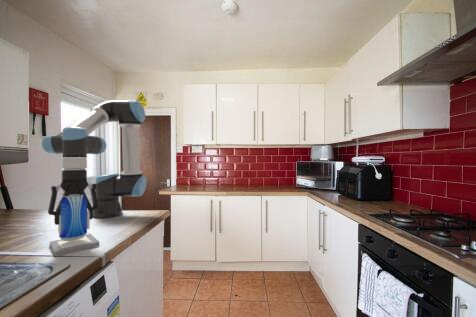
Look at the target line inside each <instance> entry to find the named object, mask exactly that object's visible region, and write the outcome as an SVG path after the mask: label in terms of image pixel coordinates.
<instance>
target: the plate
mask: <svg viewBox="0 0 476 317" xmlns="http://www.w3.org/2000/svg"><path fill="white" fill-rule="evenodd" d="M49 247H50V249H51V252H52V253H53V255H54V257H59V256H62V255H66V254H71V253H74V252H75V253H76V252H79V251H83V250H87V249H92V248H96V247H100V241H99V240H98V239H97V238H96V237H94V236H93V235H92V234H91V233H86V234H85V236H84V237H83V238H81V239H78V240H74V241H62V239H61V238H59V239H56V240H51V241H49Z"/></svg>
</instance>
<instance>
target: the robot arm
mask: <svg viewBox="0 0 476 317" xmlns="http://www.w3.org/2000/svg"><path fill="white" fill-rule="evenodd" d="M145 120H146V111H145V108H144V106H143V104H142V103H141V101H138V100H128V99H126V100H115V99H114V100H113V99H112V100H107V101H104V102H102V103H100V104H98V105H96V106H95V107H93V108H91V109H90V111H89V113H88V114H86V115H85V116H83V117H82V118H80V119H79V120H77V121H76V122H75V123H73V124H71V125H70V126H69V127H64V128H63V129H62V131H61V132H60V133H58V134H56V135H54V134H51V135H46V136H44V137H43V139H42V141H41V146H42V149H43V151H44V152H45V153H48V154H55V155H60V154H62V155H61V156H62V157H61V158H62V159H61V162H62V163H61V169H63V170H61V183H60V184H59V185H52V186H51V187H50V190H51V196H50V200H49V206H48V210H47V214H48V215H50V216H51V215H52V216H54V220H53V221H54V224H55V226H57V225H58V226H57V232H58V235H59V234H61V216H60V213H61V204H59V203H58V205H57V207H56V209H55V206H56V200H57V196H58V192H59V191H60V189H62V190H63V192H64V193H63V195H62V197H61V199H62V198H63V199H64V197H65V196H69V195H73V194H80V195H84V197H85V198H86V199H87V230H90V229H91V228H90V227H91V225H90V221H91V220H93V218H95V219H96V218H97V219H103V218H104V219H105V218H112V217H117V216H121V215H122V214H123V208H122V205H121V201H120V197H128V198H129V197H132V198H134V197H141V196H143V194H145V191H146V188H147V182H148V181H147V177H146V176H145V175H143V171H141V170H140V135H139V134H140V132H139V128H140V127H142V123H143V122H144V121H145ZM112 122H114V123H115V122H118V125H119V126H120V128H121V139H122V140H121V144H122V149H121V150H122V171H121V172H120V173H112V174H111V173H110V174H104V175H103V174H102V175H98V176H96V178H95V183H93V182H92V183H89V182H88V181H87V180H88V176H87V175H88V171H87V168H88V159H87V158H88V156H87V155H101V154H103V153H104V152H105V151H106V149H107V147H108V146H107V142H106V140H105V139H104V138H103V137H101V136H97V135H90V134H92V133H93V132H95V131H96V130H97V129H99V127H101V126H102V125H106V124H107V123H112ZM86 188H88V189H89V190H90V191H89V192H90V196H91V201H92V204H91V202H90V200H89V198H88V196H87V194H86V192H85V190H86ZM63 196H64V197H63Z"/></svg>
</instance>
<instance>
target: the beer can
mask: <svg viewBox="0 0 476 317" xmlns="http://www.w3.org/2000/svg"><path fill="white" fill-rule="evenodd" d="M62 197H64V196H63V195H62ZM62 197H61V199H60V200H59V202H58V205H59V204H61V213H60V216H61V234H59V233H58V237H59V239H62V241H74V240H78V239H81V238H83V237H84V236H85V234H88V229H87V211H88V208H87V199H86V198H85V197H84V195H80V194H73V195H69V196H65V197H64V199H63V198H62Z"/></svg>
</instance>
